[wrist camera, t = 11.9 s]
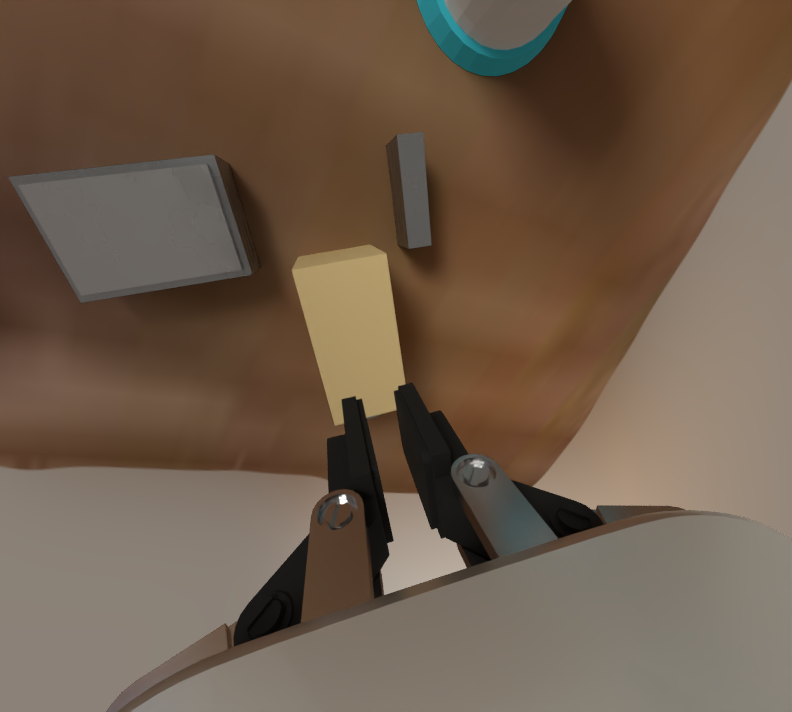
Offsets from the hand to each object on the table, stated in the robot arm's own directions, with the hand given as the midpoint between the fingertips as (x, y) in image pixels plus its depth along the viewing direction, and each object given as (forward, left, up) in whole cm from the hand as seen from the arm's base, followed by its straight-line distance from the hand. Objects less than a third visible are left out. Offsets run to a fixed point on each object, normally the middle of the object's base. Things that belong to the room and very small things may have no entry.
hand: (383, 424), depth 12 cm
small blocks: (-4, +8, -13) cm, 16 cm away
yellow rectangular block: (0, 0, -14) cm, 14 cm away
